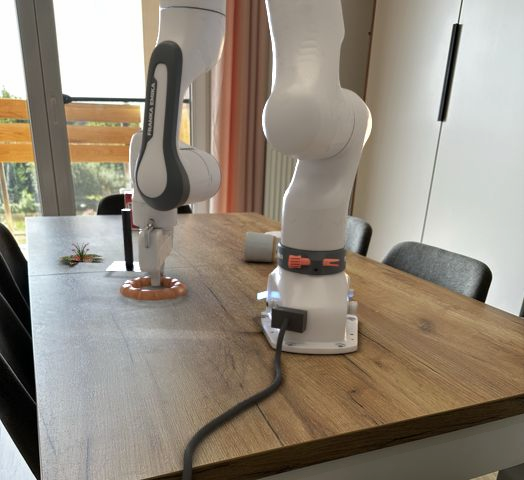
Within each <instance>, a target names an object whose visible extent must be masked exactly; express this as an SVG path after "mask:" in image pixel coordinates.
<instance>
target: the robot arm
mask: <svg viewBox="0 0 524 480" xmlns="http://www.w3.org/2000/svg"><path fill="white" fill-rule="evenodd" d="M342 6H343V5H342V1H341V0H265V7H266V8H265V9H266V13H267V20H268V26H269V31H270V39H271V47H272V78H271V79H272V81H271V92H270V95H269V97H268V99H267V100H266V101H265V105H264V108H263V112H262V130H263V133H264V136H265V138H266V140H267V142H268V144H270V146H271V147H272V148H273V150H275V151H277V152H278V153H280V154H282V155H284V156H286V157H289V158H291V159H293V160H297V162H296V165H295V169H294V173H293V176H292V178H291V180H290V181H291V182H290V183H289V185H288V187H287V189H286V190H285V193H284V195H283V199H282V207H281V208H282V210H281V228H280V229H281V230H280V232H281V242H280V243H279V244H278V250H277V251H276V263H277V266H276V268H275V269H274V270H273V271H271V272H270V273H269V274H268V277H267V286H266V291H263V292H258V293H257V300H262V299H264V298H266V299H265V300H266V303H265V310H264V311H260V328H261V332H262V333H263V335H264V337H265V338H266V340H267V342H268V344H269V345H270V347H271V348H272V349H274V350H275V353H274V362H273V363H274V364H273V365H274V366H273V367H274V372H275V378H274V380H273V382H271V384H269V386H268V387H266V388H264V389H262V390H261V391H259V392H257V393H255V394H253V395H252V396H249V397H248V398H245V399H244V400H241V401H240V402H238V403H236V404H235V405H233V406H231V408H229V409H228V410H226V411H225V412H223V413H221V414H220V415H218V416H217V417H215V418H213V419H212V420H210V421H209V422H207V423H206V424H204V426H202V427H201V428H200V429H199V430H198V431H197V432H196V433H195V434H194V435H193V436H192V437H191V439H190V440H189V441H188V443H187V445H186V447H185V449H184V452H183V461H182V462H183V463H182V464H183V467H182V477H181V480H192V477H193V454H194V451H195V449H196V448H197V446H198V444H199V443H200V442H201V441H202V439H203V438H204V437H206V435H208V434H209V433H210V432H211V431H213V430H214V429H215V428H217V427H218V426H220V425H221V424H223V423H224V422H226V421H227V420H229V419H231V418H232V417H233V416H235V415H237V414H238V413H239V412H242V410H244V409H246V408H247V407H249V406H251V405H252V404H255V403H257V402H259V401H261V400H262V399H264V398H266V397H268V396H270V395H271V394H272V393H273V392H274V391H275V390H276V389H277V388H278V387H279V386H280V384H281V382H282V380H283V373H282V369H281V359H282V352H288V353H296V354H307V355H308V354H310V355H336V354H337V355H338V354H339V355H340V354H348V353H353V352H356V351H357V350H358V328H359V318H358V316H356V315H357V313H358V306H359V305H358V303H359V302H358V301H354V300H349V298H352V297H354V295H355V288H350V283H351V277H350V276H349V275H348V274H347V273H346V272H345V270H346V268H347V267H346V266H347V260H348V259H347V258H348V255H347V246H346V245H345V243H346V235H347V234H346V233H347V224H348V217H349V206H350V199H351V194H352V191H353V186H354V183H355V179H356V176H357V172H358V170H359V169H358V168H359V166H360V161H361V157H362V154H363V149H364V147H365V144H366V142H367V141H368V139H369V137H370V135H371V131H372V128H373V127H372V126H373V125H372V124H373V120H372V113H371V111H370V109H369V107H368V105H367V104H366V103H365V101H364V100H363V99H362V98H361V97H360V96H359V95H358V94H357V93H356V92H354V91H352V90H351V89H348V88H344V87H342V86H341V81H340V58H341V47H342V43H343V41H344V39H345V32H346V30H345V29H346V28H345V23H344V22H345V21H344V15H343V7H342ZM226 19H227V0H159V23H158V34H157V40H156V44H155V47H154V48H153V50H152V53H151V54H150V58H149V62H148V68H147V74H146V75H147V76H146V78H147V79H146V84H145V85H146V86H145V87H146V88H145V97H144V98H145V99H144V112H143V123H142V124H143V125H142V130H138V131H136V132H135V133H134V134H133V135H132V136H131V140H130V145H129V176H130V182H131V184H132V191H133V194H132V214H133V224H134V225H135V226H138V227H140V230H139V233H138V242H137V246H138V247H137V248H138V249H137V250H138V251H137V252H138V262H139V268H140V271H141V272H140V273H149V276H150V277H151V285H152V286H151V287H161V286H160V284H161V277H165V268H166V260H167V258H168V257H169V255H170V254H171V252H172V251H173V245H174V233H175V231H174V230H175V227H176V226H177V225H178V208H180V207H183V206H188V205H193V204H196V203H202V202H206V201H208V200H209V199H212V198H213V197H214V196H216V194H217V193H218V192H219V190H220V187H221V184H222V170H221V166H220V164H219V162H218V160H217V159H216V158H215V156H214V155H213V154H211V153H210V152H208V151H204V150H202V149H200V148H198V147H195V146H193V145H190V144H188V143H186V142H185V141H183V140H181V139H180V138H181V127H182V117H183V116H182V115H183V107H184V106H183V105H184V99H185V96H186V93H187V91H188V89H189V87H190V85H192V84H193V82H194V81H196V80H197V79H198V78H199V77H202V76H203V75H205V74H207V73H209V72H210V71H211V70H213V68H214V67H215V66H216V65H217V64H218V63H219V61H221V60H220V59H221V58H222V55H223V51H224V46H225V41H226V25H227V23H226Z"/></svg>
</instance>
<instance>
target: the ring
mask: <svg viewBox="0 0 524 480" xmlns="http://www.w3.org/2000/svg"><path fill="white" fill-rule="evenodd" d="M144 287H153V286H152V285H151V277H150V275H148V276H140V277H135V278H131V279H129V280H126V281H124V283H123V284H122V285H121V286H120V288H119V293H120V294H121V295H122V296H123V297H125V298H129V299H134V300H137V301H164V300H171V299H175V298H178V297H181V296H184V295H185V294H186V293H187V289H188V288H187V285H186V284H185V283H184V282H182V281H180V280H179V279H177V278H173V277H169V276H164V277H161V284H160V286H159V287H163V288H162V289H142V288H144Z"/></svg>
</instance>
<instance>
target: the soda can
mask: <svg viewBox="0 0 524 480" xmlns="http://www.w3.org/2000/svg"><path fill="white" fill-rule="evenodd" d="M132 194H133V190H127V191H124V194H123V195H124V197H123V198H124V209H129V210H131V226H132V231H140V227H138V226H135V225H134V224H133V214H132Z"/></svg>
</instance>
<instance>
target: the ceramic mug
mask: <svg viewBox="0 0 524 480" xmlns="http://www.w3.org/2000/svg"><path fill="white" fill-rule="evenodd" d="M245 234H246V235H245V240H244V250H243V260H244V261H245V262H257V263H258V262H259V263H273V262H275V260H276V256H277V251H276V245H277V238H276V236H273V235H270V234H265V233H261V232H254V231H247V232H246V233H245Z"/></svg>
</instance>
